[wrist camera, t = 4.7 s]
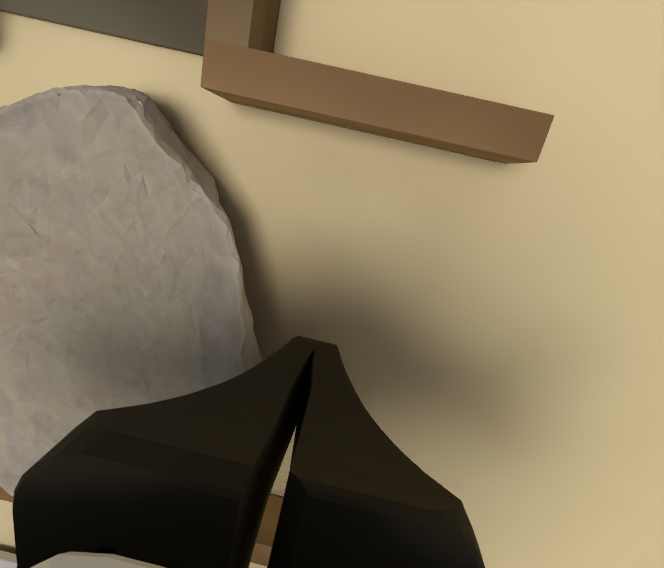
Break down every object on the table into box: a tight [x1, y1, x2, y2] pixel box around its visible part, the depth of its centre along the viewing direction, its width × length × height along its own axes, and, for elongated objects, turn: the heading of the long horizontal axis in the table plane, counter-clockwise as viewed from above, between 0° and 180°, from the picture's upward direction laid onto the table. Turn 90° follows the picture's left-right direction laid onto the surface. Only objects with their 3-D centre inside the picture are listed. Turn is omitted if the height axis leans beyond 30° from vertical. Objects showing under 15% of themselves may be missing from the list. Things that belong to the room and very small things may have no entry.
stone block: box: [0, 85, 263, 496], centre depth 12 cm, size 12×5×10 cm
